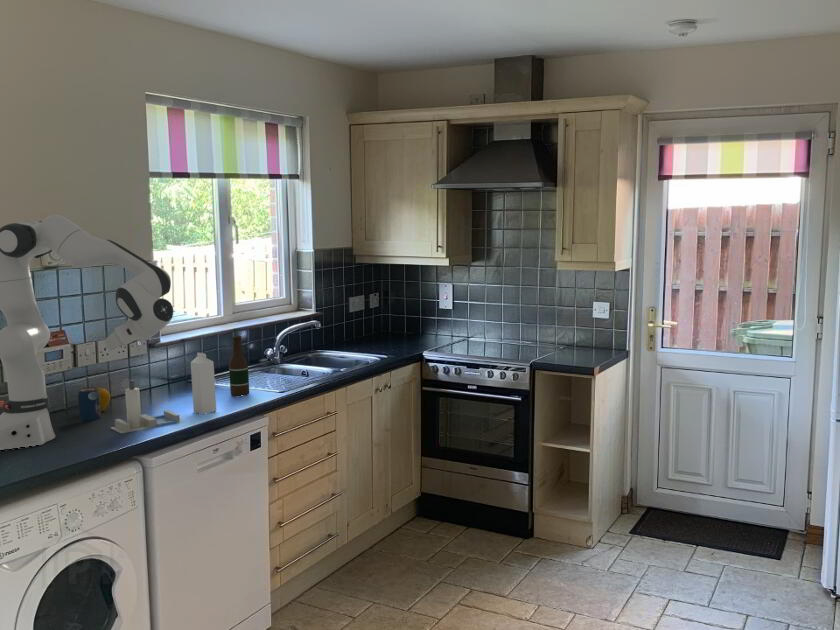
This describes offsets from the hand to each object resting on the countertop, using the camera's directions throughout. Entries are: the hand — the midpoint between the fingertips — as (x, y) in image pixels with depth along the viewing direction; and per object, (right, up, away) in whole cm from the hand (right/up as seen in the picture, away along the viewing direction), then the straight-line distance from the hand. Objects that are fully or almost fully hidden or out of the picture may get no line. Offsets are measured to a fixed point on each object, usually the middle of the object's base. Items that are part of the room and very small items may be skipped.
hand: (126, 339), depth 265 cm
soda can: (-19, -30, +18) cm, 40 cm away
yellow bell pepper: (-23, -28, +35) cm, 50 cm away
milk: (+18, -28, +29) cm, 44 cm away
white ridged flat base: (+5, -31, +7) cm, 32 cm away
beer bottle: (+25, -24, +56) cm, 66 cm away
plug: (+1, -30, +4) cm, 30 cm away
